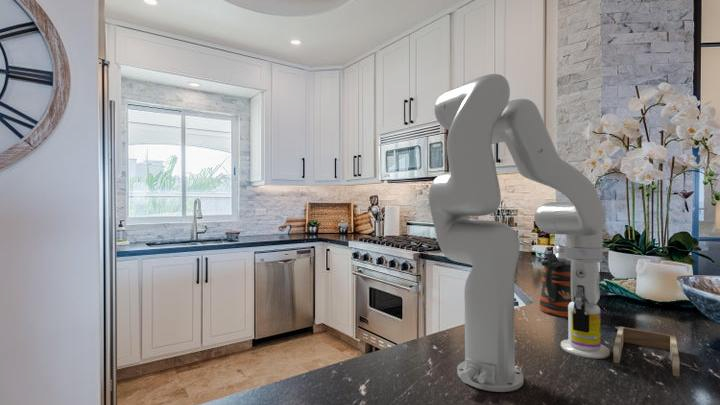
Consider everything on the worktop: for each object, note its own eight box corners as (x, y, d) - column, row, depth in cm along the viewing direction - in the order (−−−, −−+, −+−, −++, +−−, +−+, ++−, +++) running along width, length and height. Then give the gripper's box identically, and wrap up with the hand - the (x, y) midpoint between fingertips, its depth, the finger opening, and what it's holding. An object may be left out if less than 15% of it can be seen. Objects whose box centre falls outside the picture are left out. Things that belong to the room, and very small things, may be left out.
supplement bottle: (606, 353, 84) (605, 297, 84) (574, 351, 85) (573, 295, 85) (593, 342, 90) (593, 290, 90) (564, 340, 92) (563, 289, 92)
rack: (679, 376, 74) (679, 359, 74) (613, 362, 81) (613, 346, 81) (675, 350, 87) (675, 335, 87) (619, 339, 94) (619, 326, 94)
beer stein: (579, 325, 106) (578, 256, 106) (526, 314, 116) (526, 251, 116) (596, 312, 119) (595, 250, 119) (548, 303, 129) (547, 246, 129)
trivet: (607, 362, 81) (607, 358, 81) (557, 351, 87) (556, 348, 87) (611, 348, 89) (611, 345, 89) (564, 339, 95) (564, 336, 95)
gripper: (597, 259, 79) (598, 339, 79) (606, 251, 92) (606, 319, 92) (558, 256, 84) (559, 332, 83) (572, 249, 97) (572, 314, 97)
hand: (584, 325), depth 88 cm, fingers open, 9 cm apart
